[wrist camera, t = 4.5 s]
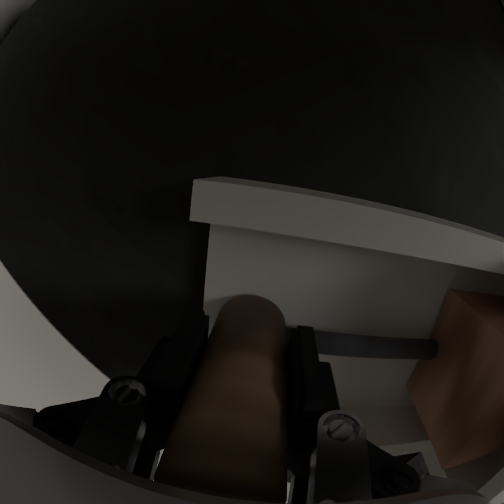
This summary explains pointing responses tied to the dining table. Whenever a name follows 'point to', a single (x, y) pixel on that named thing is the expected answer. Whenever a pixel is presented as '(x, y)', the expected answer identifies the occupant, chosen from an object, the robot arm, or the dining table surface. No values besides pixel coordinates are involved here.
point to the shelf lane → (351, 290)
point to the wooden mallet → (338, 344)
